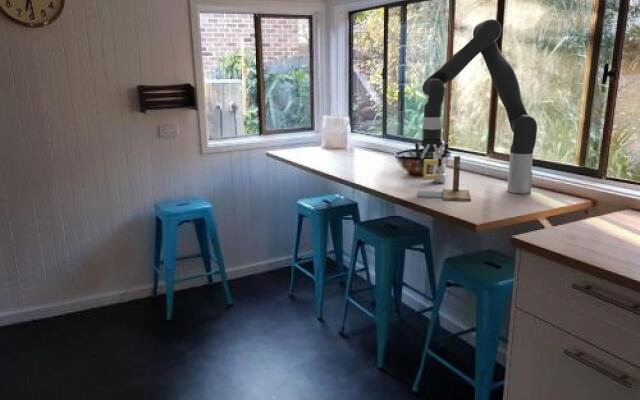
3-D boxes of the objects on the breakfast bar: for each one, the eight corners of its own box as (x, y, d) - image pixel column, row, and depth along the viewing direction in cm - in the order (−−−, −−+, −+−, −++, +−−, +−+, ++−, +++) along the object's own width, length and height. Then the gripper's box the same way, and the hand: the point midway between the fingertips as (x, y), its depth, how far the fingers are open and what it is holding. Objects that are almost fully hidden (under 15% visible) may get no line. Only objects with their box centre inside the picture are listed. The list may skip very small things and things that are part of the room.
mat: (441, 192, 223) (441, 191, 223) (441, 198, 214) (441, 197, 214) (418, 191, 225) (418, 190, 225) (417, 197, 216) (417, 196, 216)
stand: (468, 192, 222) (470, 156, 218) (470, 201, 208) (472, 162, 204) (442, 191, 224) (444, 155, 220) (443, 200, 210) (444, 162, 206)
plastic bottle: (436, 184, 238) (437, 142, 233) (429, 181, 245) (430, 140, 240) (448, 183, 240) (450, 141, 235) (441, 180, 246) (442, 139, 241)
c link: (437, 177, 219) (438, 159, 217) (437, 179, 215) (438, 161, 213) (423, 177, 220) (424, 159, 218) (423, 179, 217) (423, 160, 215)
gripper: (449, 126, 214) (447, 165, 219) (415, 126, 217) (414, 165, 222) (450, 128, 207) (448, 169, 212) (414, 128, 210) (413, 168, 215)
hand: (430, 166), depth 217 cm, fingers closed on c link, 6 cm apart
